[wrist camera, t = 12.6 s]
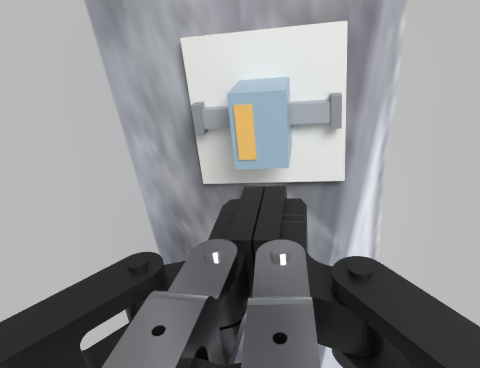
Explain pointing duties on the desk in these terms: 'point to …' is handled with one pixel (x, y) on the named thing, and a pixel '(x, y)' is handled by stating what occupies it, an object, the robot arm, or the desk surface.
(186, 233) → the desk surface
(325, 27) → the rail plate
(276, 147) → the block
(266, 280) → the robot arm
